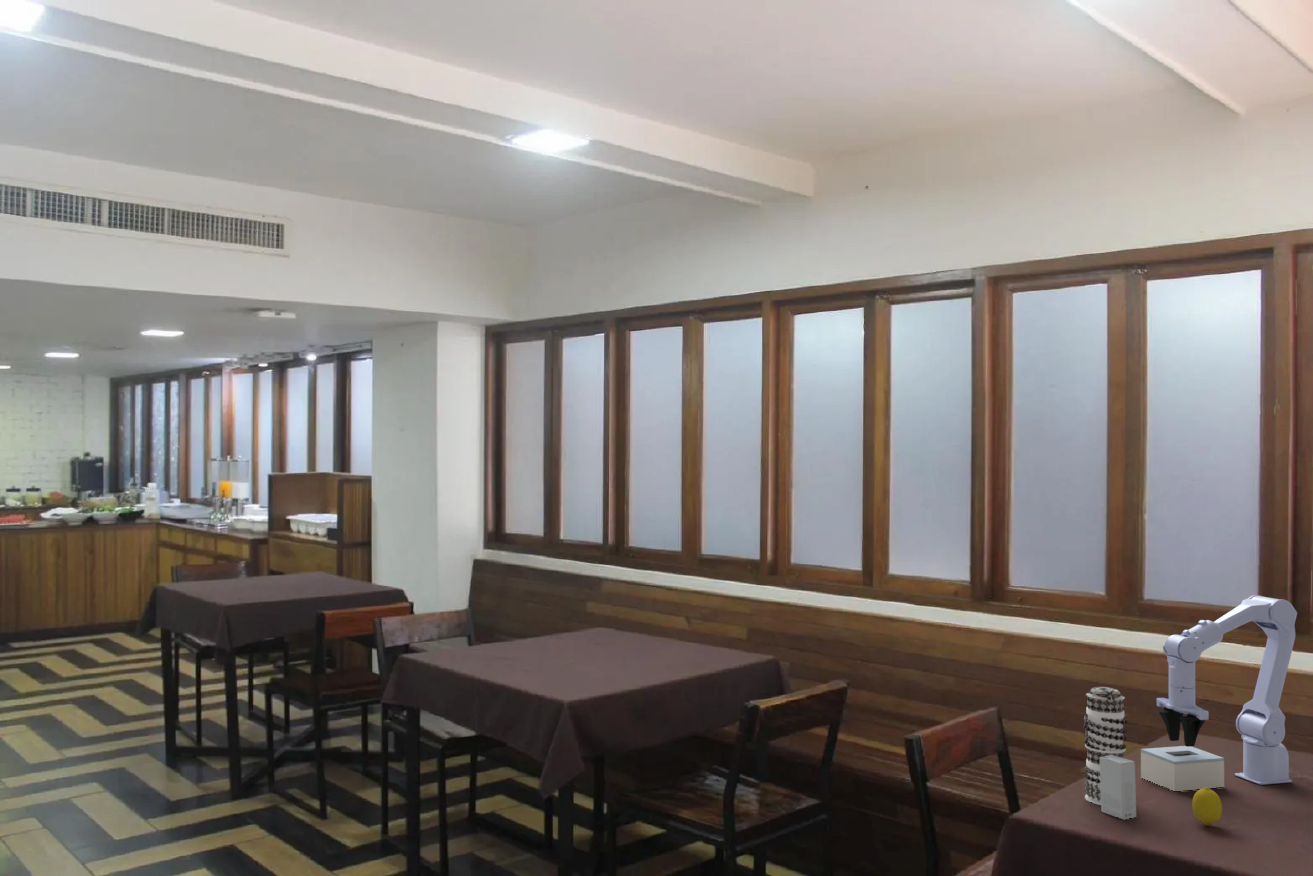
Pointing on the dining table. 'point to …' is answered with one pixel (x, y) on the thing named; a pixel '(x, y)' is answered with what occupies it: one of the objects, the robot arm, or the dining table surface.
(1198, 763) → the tissue box
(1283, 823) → the dining table surface
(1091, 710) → the decorative candle
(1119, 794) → the skincare box
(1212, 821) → the lemon
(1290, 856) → the dining table surface
